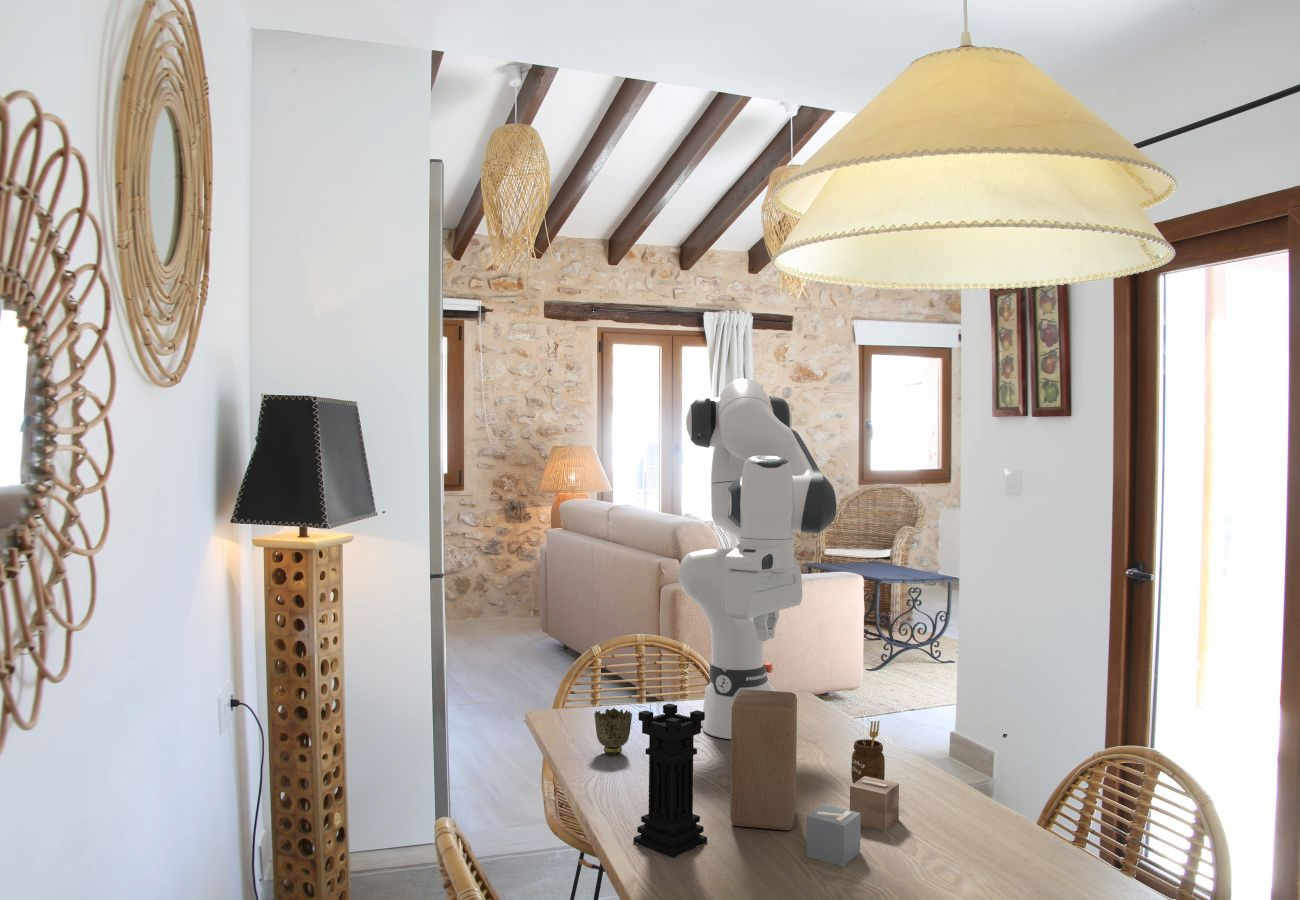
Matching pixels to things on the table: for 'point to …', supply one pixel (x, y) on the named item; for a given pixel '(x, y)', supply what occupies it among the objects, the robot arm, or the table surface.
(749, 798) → the block
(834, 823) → the slate numbered cube
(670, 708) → the chess piece
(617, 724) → the cup
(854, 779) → the utensil holder
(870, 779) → the walnut numbered cube
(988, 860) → the table surface
